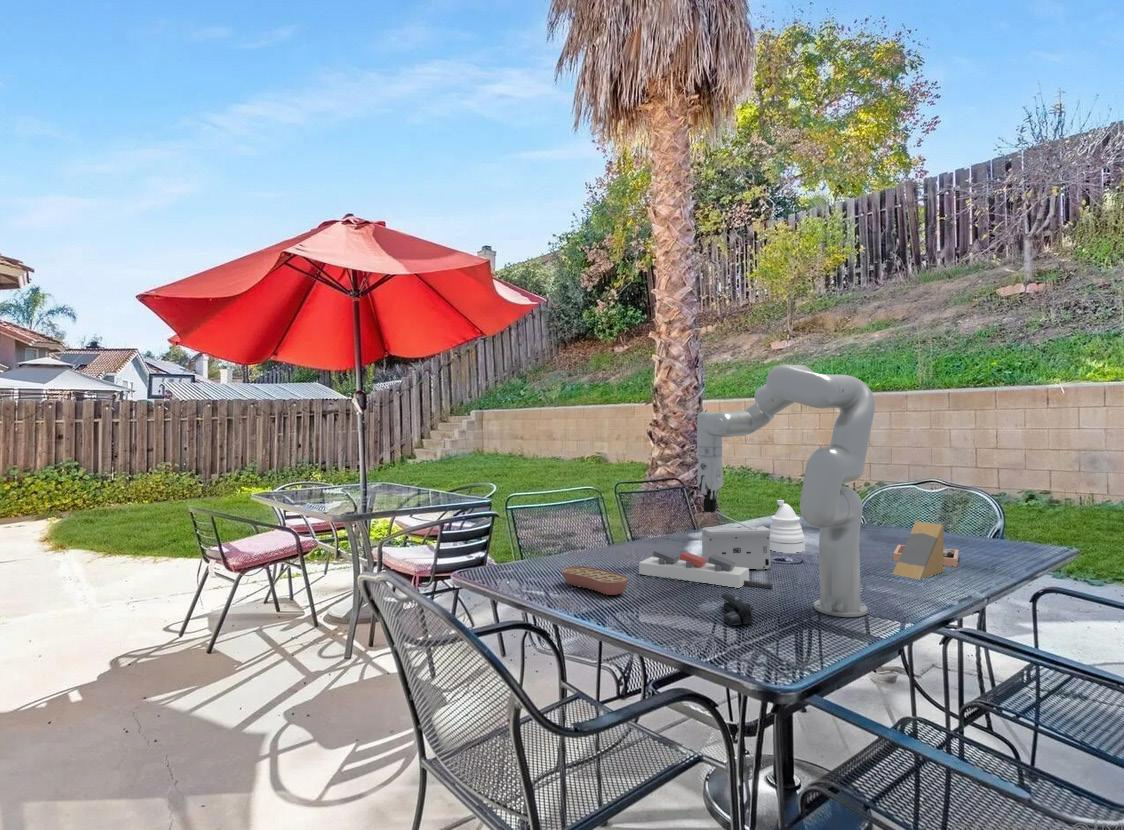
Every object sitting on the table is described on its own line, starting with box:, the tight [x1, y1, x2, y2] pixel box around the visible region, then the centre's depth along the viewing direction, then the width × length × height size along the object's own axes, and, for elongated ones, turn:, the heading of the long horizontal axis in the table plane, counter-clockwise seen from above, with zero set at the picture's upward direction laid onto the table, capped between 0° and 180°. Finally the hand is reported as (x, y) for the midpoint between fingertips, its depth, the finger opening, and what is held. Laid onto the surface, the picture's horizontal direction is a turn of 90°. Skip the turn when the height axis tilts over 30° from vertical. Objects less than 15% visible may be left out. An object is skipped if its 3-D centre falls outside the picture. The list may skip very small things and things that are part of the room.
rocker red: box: [679, 551, 707, 567], centre depth 197 cm, size 4×7×2 cm, turn 57°
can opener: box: [721, 592, 754, 626], centre depth 161 cm, size 18×7×6 cm, turn 179°
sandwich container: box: [891, 520, 944, 580], centre depth 196 cm, size 9×15×15 cm, turn 124°
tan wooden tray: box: [892, 544, 959, 568], centre depth 214 cm, size 15×18×2 cm
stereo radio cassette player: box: [701, 511, 771, 570], centre depth 208 cm, size 21×8×20 cm, turn 92°
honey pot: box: [769, 499, 806, 554], centre depth 233 cm, size 13×13×18 cm
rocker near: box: [708, 554, 735, 571], centre depth 192 cm, size 4×7×2 cm, turn 57°
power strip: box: [638, 556, 774, 589], centre depth 195 cm, size 9×40×6 cm, turn 57°
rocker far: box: [652, 548, 680, 564], centre depth 202 cm, size 4×7×2 cm, turn 57°
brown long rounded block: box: [561, 565, 628, 596], centre depth 187 cm, size 23×10×5 cm, turn 43°
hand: (709, 511), depth 197 cm, fingers closed
